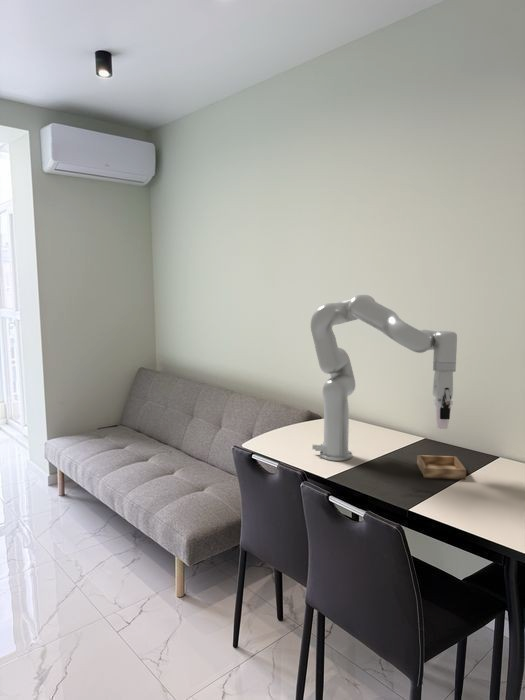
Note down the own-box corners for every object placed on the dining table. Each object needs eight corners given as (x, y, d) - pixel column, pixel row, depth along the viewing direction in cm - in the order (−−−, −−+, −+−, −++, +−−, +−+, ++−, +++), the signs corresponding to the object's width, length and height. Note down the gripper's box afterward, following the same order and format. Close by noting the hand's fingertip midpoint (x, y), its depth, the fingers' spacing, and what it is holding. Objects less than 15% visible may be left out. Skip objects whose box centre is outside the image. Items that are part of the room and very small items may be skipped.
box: (423, 477, 176) (424, 468, 175) (416, 464, 190) (417, 455, 189) (465, 479, 174) (466, 469, 174) (455, 465, 188) (456, 456, 187)
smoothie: (453, 430, 176) (454, 390, 174) (433, 429, 177) (435, 390, 176) (450, 425, 182) (451, 387, 180) (431, 424, 184) (433, 386, 182)
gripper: (428, 362, 186) (426, 410, 188) (438, 370, 169) (436, 422, 171) (449, 363, 185) (447, 411, 187) (462, 370, 168) (459, 423, 170)
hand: (442, 416), depth 179 cm, fingers closed on smoothie, 6 cm apart
